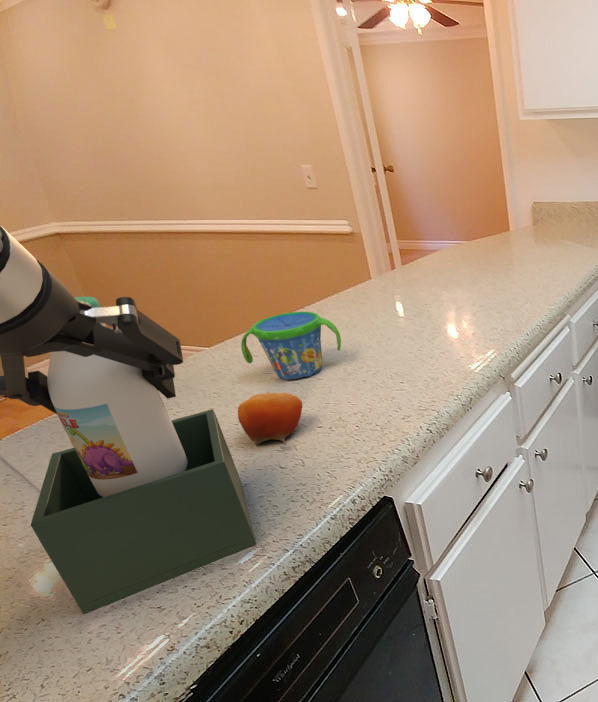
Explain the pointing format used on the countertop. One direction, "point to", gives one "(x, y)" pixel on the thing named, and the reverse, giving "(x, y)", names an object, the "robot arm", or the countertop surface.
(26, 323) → the robot arm
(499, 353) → the countertop surface
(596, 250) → the countertop surface
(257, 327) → the snack cup
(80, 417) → the milk bottle
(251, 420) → the fruit
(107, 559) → the bin
